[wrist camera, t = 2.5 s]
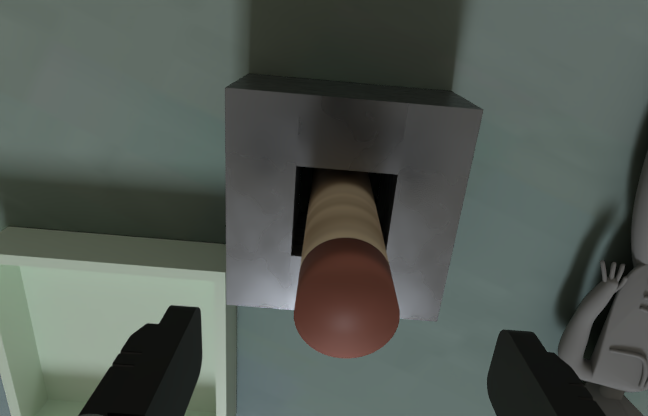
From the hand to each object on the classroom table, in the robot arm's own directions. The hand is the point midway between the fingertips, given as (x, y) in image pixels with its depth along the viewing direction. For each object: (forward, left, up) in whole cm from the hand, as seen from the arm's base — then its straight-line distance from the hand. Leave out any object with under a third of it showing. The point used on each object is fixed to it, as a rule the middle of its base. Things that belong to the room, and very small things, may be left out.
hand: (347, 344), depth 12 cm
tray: (+11, -12, -13) cm, 21 cm away
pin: (0, 0, -13) cm, 13 cm away
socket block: (0, 0, -13) cm, 13 cm away
